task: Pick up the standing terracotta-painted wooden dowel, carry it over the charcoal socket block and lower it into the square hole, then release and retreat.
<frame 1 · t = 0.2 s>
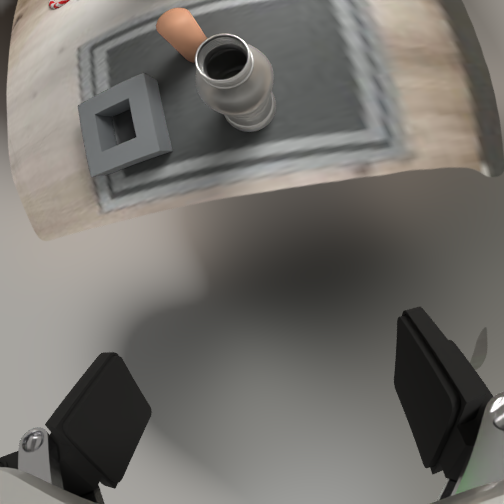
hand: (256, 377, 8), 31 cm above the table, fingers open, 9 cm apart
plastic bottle: (251, 109, 34), on the table
peg: (197, 50, 31), on the table
socket block: (130, 127, 36), on the table
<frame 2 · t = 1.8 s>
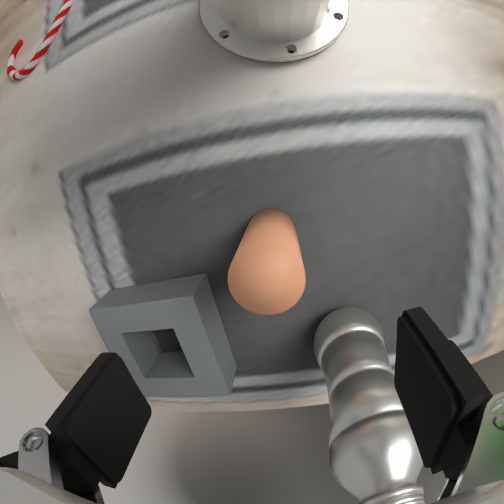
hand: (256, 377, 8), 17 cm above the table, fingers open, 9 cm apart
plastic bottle: (343, 326, 27), on the table
candy cane: (46, 29, 19), on the table
peg: (271, 231, 24), on the table
socket block: (172, 329, 28), on the table
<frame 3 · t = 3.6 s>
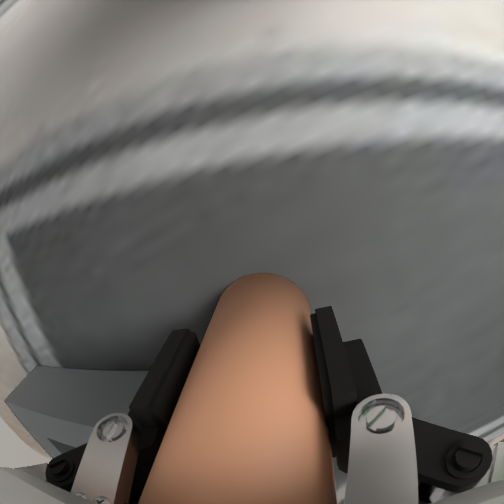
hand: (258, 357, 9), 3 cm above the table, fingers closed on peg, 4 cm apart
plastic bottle: (372, 434, 15), on the table
peg: (263, 316, 12), on the table, touching gripper
socket block: (121, 426, 16), on the table
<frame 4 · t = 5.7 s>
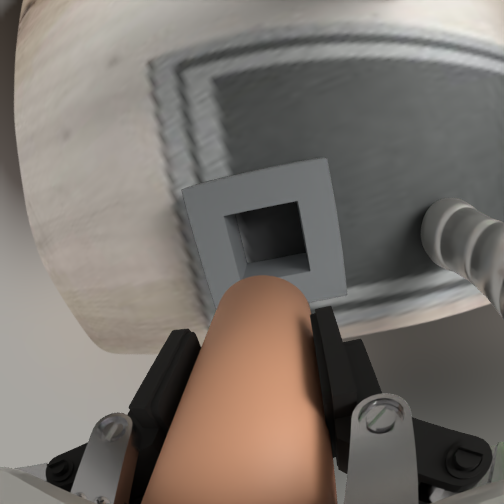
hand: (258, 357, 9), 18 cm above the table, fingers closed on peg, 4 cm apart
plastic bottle: (438, 226, 24), on the table
peg: (263, 318, 12), point 15 cm above the table, touching gripper
socket block: (270, 229, 26), on the table
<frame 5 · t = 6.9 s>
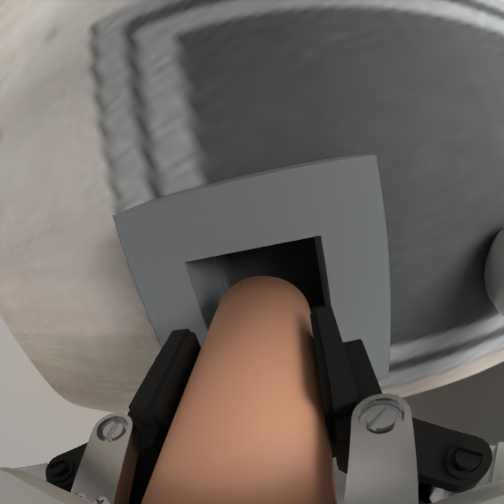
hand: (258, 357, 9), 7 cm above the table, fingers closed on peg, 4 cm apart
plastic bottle: (501, 257, 15), on the table
peg: (263, 318, 12), point 5 cm above the table, touching gripper
socket block: (269, 271, 16), on the table
when the fingers open (5 cm above the table, at t = 7.6 s): peg drops 2 cm, resting in socket block.
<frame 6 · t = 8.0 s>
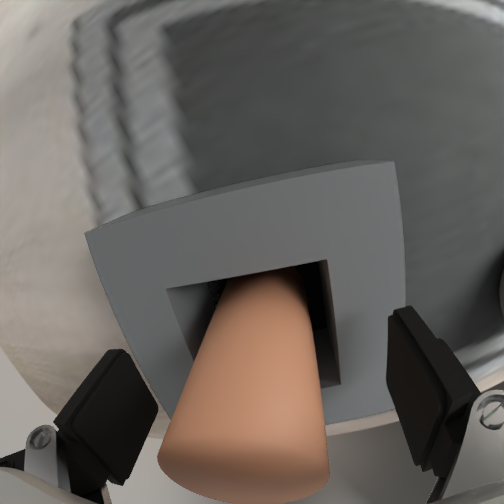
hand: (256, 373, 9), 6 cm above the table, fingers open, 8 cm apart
peg: (265, 292, 14), resting in socket block
socket block: (265, 291, 14), on the table
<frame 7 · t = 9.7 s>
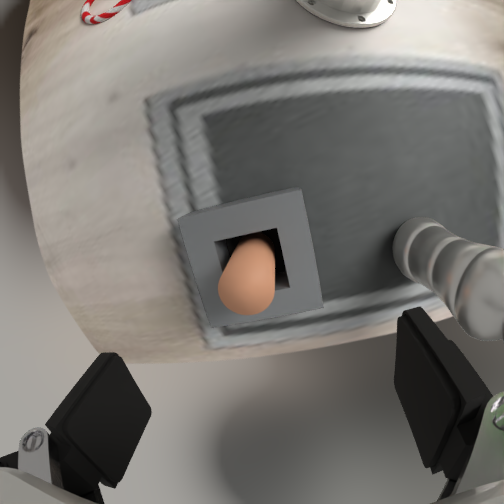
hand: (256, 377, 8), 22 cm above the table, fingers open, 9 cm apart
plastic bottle: (411, 242, 28), on the table
peg: (255, 251, 30), resting in socket block
socket block: (255, 251, 30), on the table
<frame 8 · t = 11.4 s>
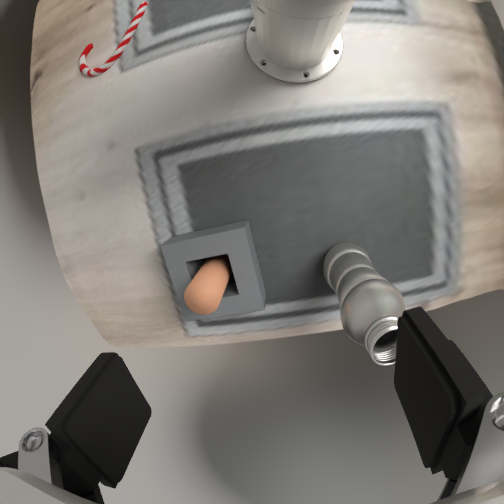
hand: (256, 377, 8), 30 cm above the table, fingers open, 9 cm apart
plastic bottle: (343, 260, 39), on the table
candy cane: (115, 38, 31), on the table
peg: (219, 266, 40), resting in socket block
socket block: (219, 265, 40), on the table
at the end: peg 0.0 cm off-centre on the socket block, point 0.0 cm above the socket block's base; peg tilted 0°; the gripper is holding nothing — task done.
